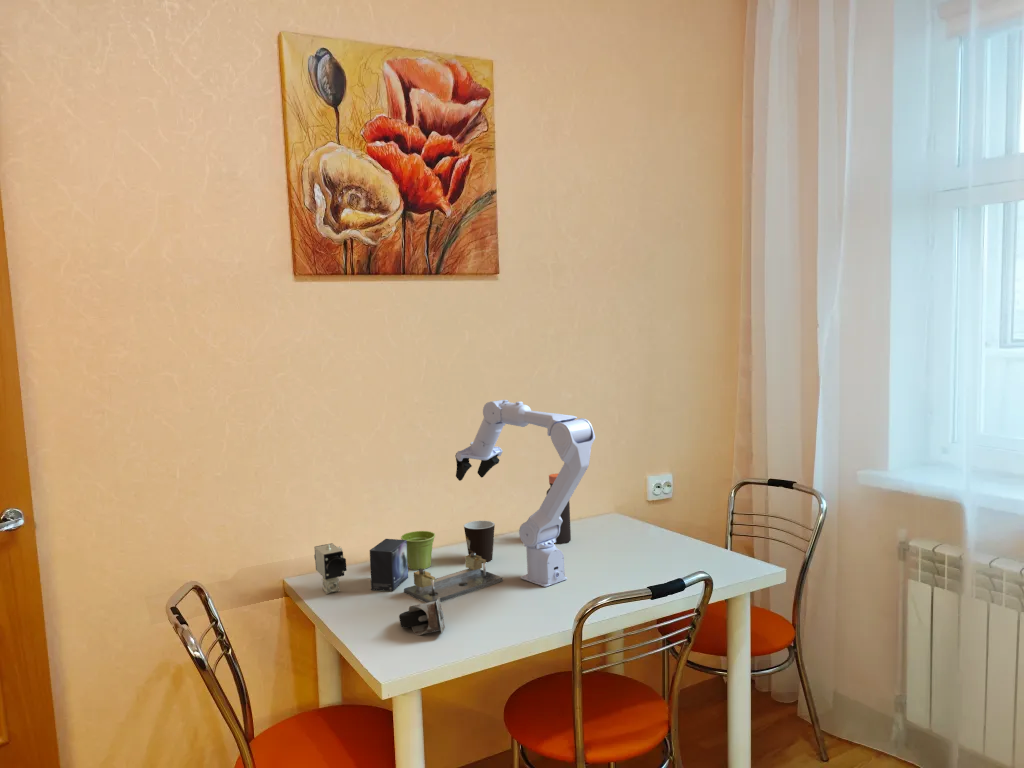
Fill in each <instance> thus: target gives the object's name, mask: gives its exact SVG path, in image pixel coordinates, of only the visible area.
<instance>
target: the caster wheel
mask: <svg viewBox="0 0 1024 768" xmlns="http://www.w3.org/2000/svg"><path fill="white" fill-rule="evenodd" d="M408 607H409V608H408V610H406V611H404V612H402V613H400V614H399V615H398V617H399V623H400V627H401V628H411V630H412V632H413V633H414V634H415V635H417V636H420V635H424V634H429V633H430V634H431V633H435V632H439V631H440V633H441V634H443V632H444V630H445V629H446V627H445V620H444V617H445V615H444V611H443V609H442V605H441V602H440V598H438V599H437V601H433V602H428V603H426V602H424V603H418V604H414V605H410V606H408Z"/></svg>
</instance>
